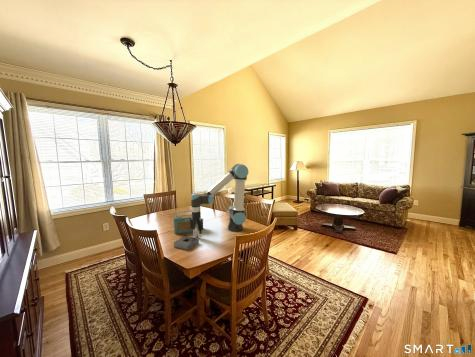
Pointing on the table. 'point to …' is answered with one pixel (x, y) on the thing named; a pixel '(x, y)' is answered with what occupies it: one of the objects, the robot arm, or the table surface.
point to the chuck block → (186, 242)
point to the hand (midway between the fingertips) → (197, 236)
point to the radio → (182, 223)
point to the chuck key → (196, 230)
